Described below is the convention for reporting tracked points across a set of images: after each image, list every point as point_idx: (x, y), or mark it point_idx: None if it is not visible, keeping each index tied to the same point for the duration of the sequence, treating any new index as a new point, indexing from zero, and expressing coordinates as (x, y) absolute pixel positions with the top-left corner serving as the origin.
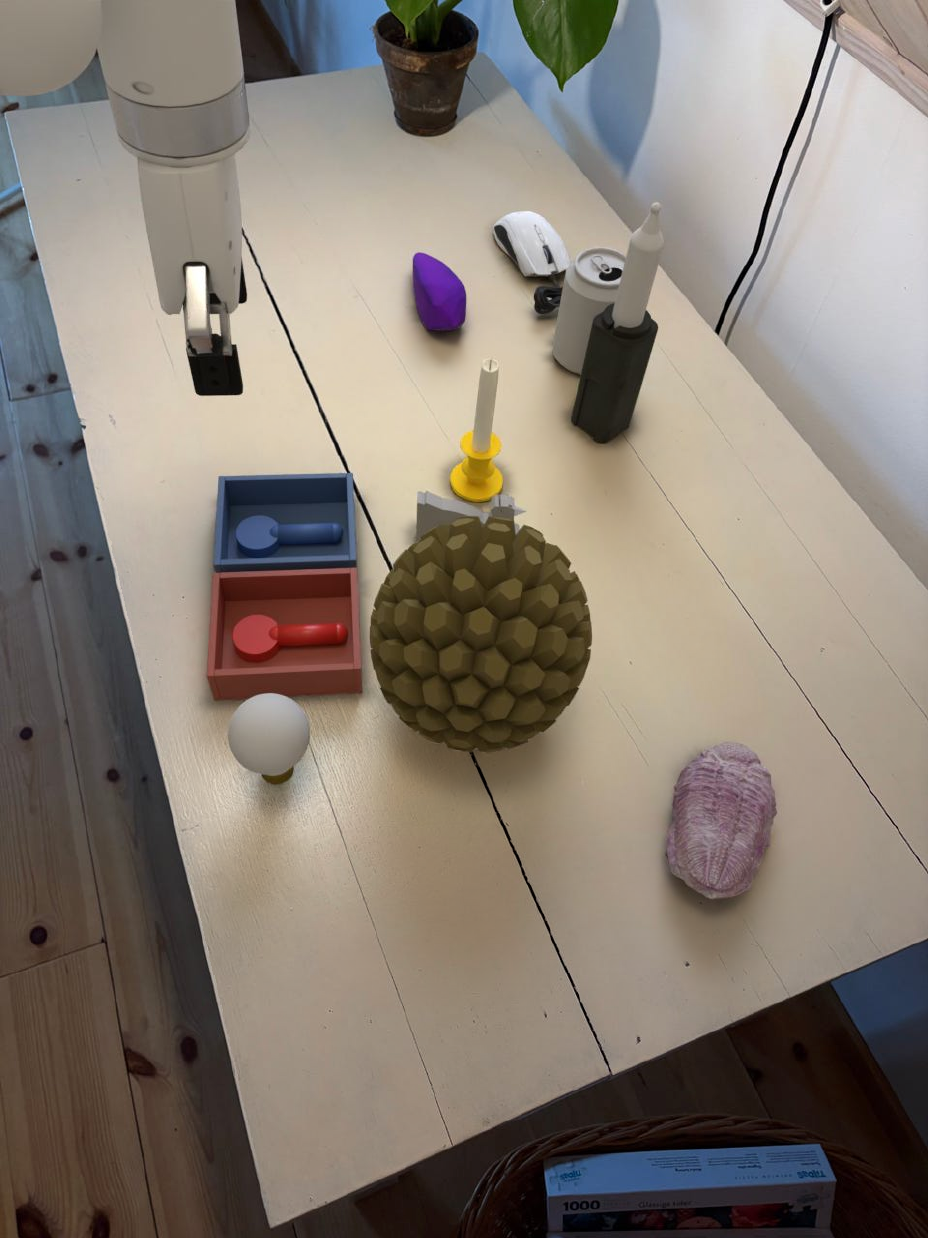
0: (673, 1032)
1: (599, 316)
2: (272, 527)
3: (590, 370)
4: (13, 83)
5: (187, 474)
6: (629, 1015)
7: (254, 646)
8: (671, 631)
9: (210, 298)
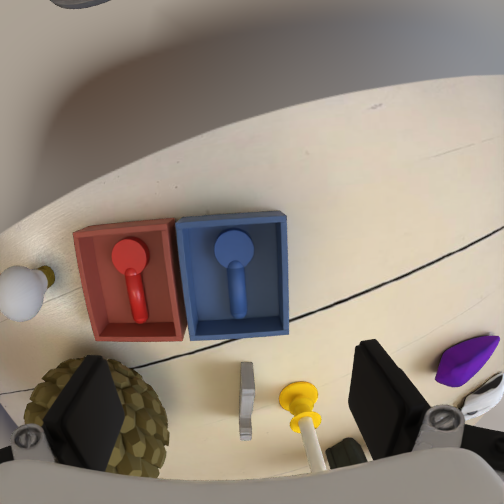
0: (11, 416)
1: None
2: (237, 263)
3: None
4: None
5: (316, 174)
6: (10, 406)
7: (117, 257)
8: (183, 468)
9: (358, 360)
